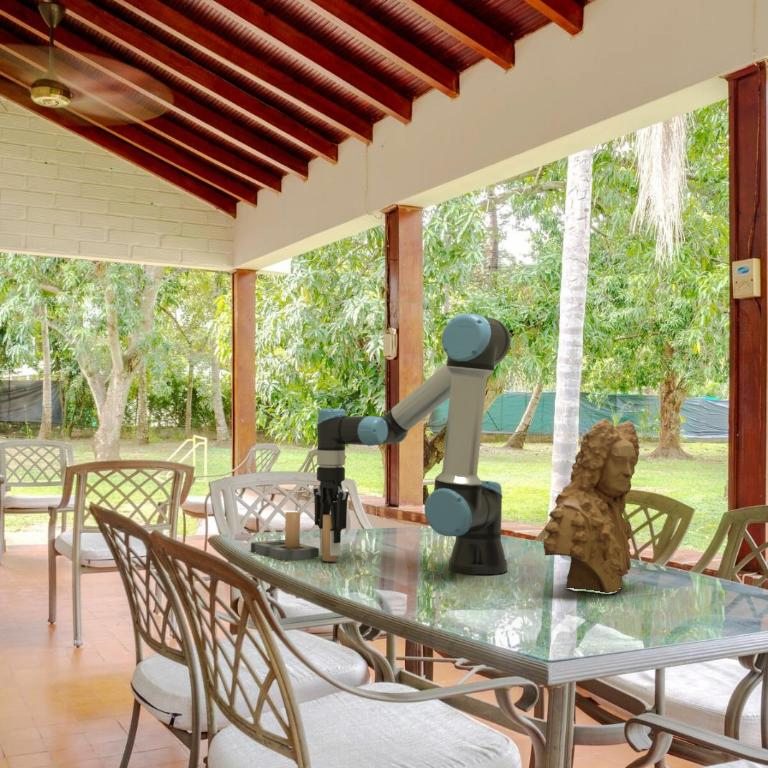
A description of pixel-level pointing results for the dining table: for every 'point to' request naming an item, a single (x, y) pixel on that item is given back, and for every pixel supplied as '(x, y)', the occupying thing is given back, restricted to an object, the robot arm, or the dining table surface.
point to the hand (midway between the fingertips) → (329, 553)
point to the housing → (284, 550)
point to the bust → (596, 509)
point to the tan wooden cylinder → (292, 530)
